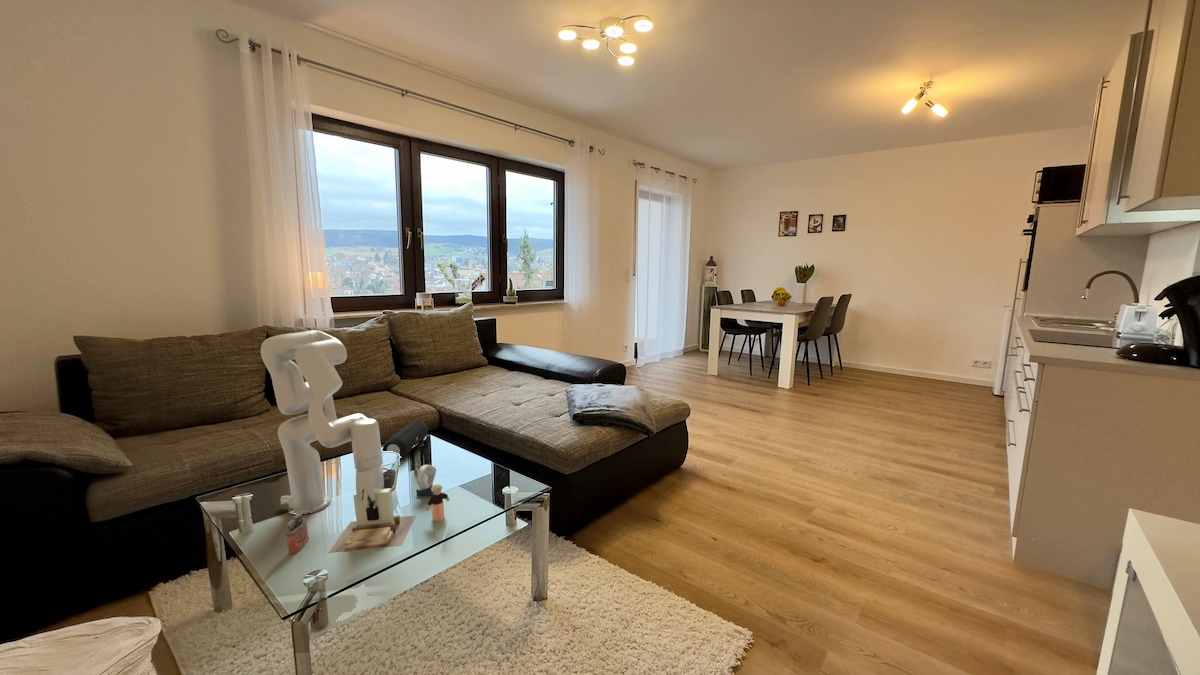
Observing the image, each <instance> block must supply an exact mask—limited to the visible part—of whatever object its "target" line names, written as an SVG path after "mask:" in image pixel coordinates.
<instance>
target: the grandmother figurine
mask: <svg viewBox="0 0 1200 675" xmlns="http://www.w3.org/2000/svg"><path fill="white" fill-rule="evenodd" d="M442 489H443V485H442V484H440V483H437V482H436V483H434V484H433V486H432V488H431V490H432V492H433V495H432V496H430V497H429V498H430V499H429V501H428V502H427V505H426V508H425V510H426V511H429V510H430V509H431V505H432V509H431V510H432V511H431V512H432V513H431V518H432V522H437V521H441V522H442V521H444V520H446V517H445V507H444V500H445V501H446V502H449V501H450V497H449V496H448V494H447V493H445V492H442Z"/></svg>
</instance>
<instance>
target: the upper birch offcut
mask: <svg viewBox="0 0 1200 675" xmlns="http://www.w3.org/2000/svg"><path fill="white" fill-rule="evenodd" d="M390 532H391V530H390V527H384V528H374V529H364V530H355V531H354V532H353V533H352V535H351V536H350V542H359V541H368V540H378V539H387V537H388V535H389V534H390Z"/></svg>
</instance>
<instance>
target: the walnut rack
mask: <svg viewBox="0 0 1200 675" xmlns="http://www.w3.org/2000/svg"><path fill="white" fill-rule="evenodd" d="M416 518H417V515H407V516H400V514H397V515H395V514H394V522H395V523H385V524H375V525H365V526H357V521H356V520H355V521H350V522H349V524H348V525H347V526H346V527H345V529H344V530H343V531H342V533H341V534H340V536H339V537H338V538H337V539H336V541H335V543H334V544H333V545H332V547H331V548H330V550H329V551H328V554H333V553H341V552H348V551H349V552H350V551H351V552H352V551H360V550H370V549H371V550H372V549H380V548H389V547H390V548H391V547H398V546H403V544H404V542H405V540H406V537H407V536H408V534H409V531H410V529H411V527H412V525H413V523H414V521H415V520H416ZM384 527H390V530H391V531H393V537H392V539H391V541H390V542H389V544H380V545H370V546H361V547H351V548H345V542H346V540H347V539H348V538H349V536H350V535H352V533H353V532H354V531H355V530H364V529H374V528H384Z"/></svg>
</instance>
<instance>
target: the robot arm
mask: <svg viewBox="0 0 1200 675" xmlns="http://www.w3.org/2000/svg"><path fill="white" fill-rule="evenodd" d="M260 356H261V359H262V361H263V363H264V365H265V367H266V369H267V371H268V373H269V374H270V378H271V381H272V386H273V391H274V395H275V396H274V397H275V399H276V404H277V408H278V410H279V411H280V413H281V414H282V415H286V416H287V415H290V416H291V415H296V414H299V413H303V412H306V411H308V413H307V414H303V415H298V416H296V417H292V418H290V419H288V420H285V421H284V422H282V423H281V424H280V425H279V427H278V429H277V436H278V440H279V443H280V444H281V447H282V451H283V454H284V459H285V464H286V468H287V469H286V470H287V476H288V477H287V478H288V482H289V490H290V495H282V496H280V498H279V499H280V505H288V507H290V508H293V510H292V511H294V510H295V511H294V512H292V511H290V512H292V513H296V514H305V515H307V514H306V513H310V514H313V513H315V512H318V511H321V510H323V509H324V508H326V507H327V506H329V505H330V504H331V502H332V497H331V496H330V495H329V494H326V493H325V486H324V479H323V472H322V464H321V458H320V453H319V452H318V450H317V449H316V448H314V447H313V446H311V445H310V444H311V443H313V442H315V441H318V443H320V445H321V446H323V447H324V448H328V449H331V448H337V447H339V446H341V445H344V444H347V443H349V442H351V447H352V454H353V463H354V469H355V490H356V491H355V492H356V493H357V501H358V502H361V501H362V500H363V508H365V509H366V512H367V520H368V521H373V520H378V519H379V513H378V507H376V498H377V497H378V493H379V491H380V490H381V489H384V487H385V480H384V479H385V478H384V472H383V466H382V465H383V463H384V460H383V452H382V444H381V434H380V433H381V432H380V427H379V426H380V425H379V421H378V420H376V419H375V418H369V417H367V416H365V415H364V414H362V413H353V414H350V415H346V416H343V417H340V418H337V412H336V408H335V403H334V397H333V395H334V394H335V393H336V392H338V391H339V390H340V389H341V388H342V386H343V380H342V379H341V377H340V375H339V373H338V371H337V370H336V367H335V366H336V365H341V364H343V363H345V362H346V360H347V358H348V351H347V349H346V346H345V345H344V344H343V343H342V342H341V340H340V339H338V338H336V337H334V336H332V335H330V334H328V333H326V332H323V331H322V330H316V329H314V330H313V329H312V330H306V331H298V332H290V333H285V334H284V333H283V334H278V335H274V336H271V337H268V338H266V339H265V340H263V342H262V343H261V347H260ZM293 360H294V361H295V362H294V361H293ZM304 379H305V380H304ZM330 501H331V502H330ZM371 501H373V503H369V502H371Z"/></svg>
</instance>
